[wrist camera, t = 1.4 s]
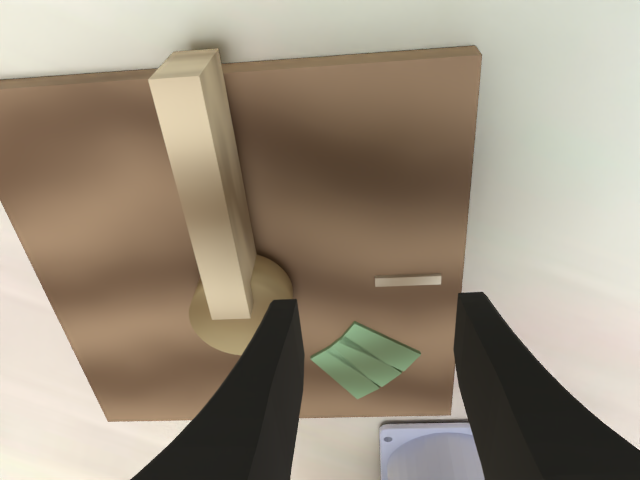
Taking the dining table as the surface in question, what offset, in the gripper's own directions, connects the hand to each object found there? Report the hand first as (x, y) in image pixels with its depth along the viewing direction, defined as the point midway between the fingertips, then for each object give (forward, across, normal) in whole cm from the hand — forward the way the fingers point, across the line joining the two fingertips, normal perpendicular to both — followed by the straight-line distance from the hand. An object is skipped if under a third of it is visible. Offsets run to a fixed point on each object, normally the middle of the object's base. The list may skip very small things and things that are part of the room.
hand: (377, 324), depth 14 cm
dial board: (+10, +6, +6) cm, 13 cm away
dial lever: (+9, +6, +5) cm, 12 cm away
